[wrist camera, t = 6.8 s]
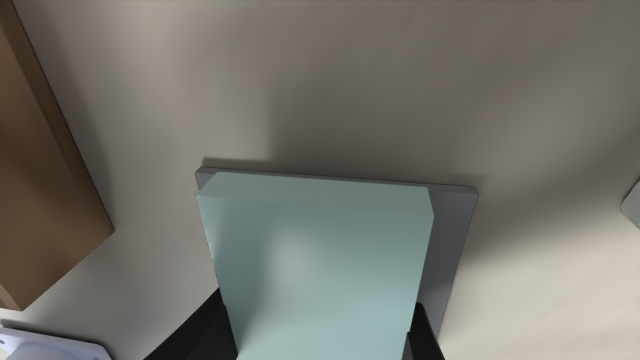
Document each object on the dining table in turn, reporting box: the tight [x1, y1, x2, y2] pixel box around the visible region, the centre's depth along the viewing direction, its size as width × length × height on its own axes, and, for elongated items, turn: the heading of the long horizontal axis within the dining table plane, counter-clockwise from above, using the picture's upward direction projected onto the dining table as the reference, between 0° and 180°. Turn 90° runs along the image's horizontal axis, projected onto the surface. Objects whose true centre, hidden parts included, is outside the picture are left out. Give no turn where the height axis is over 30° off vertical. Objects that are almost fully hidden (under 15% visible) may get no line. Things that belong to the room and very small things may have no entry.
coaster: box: [195, 167, 478, 338], centre depth 12 cm, size 9×9×1 cm
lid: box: [195, 172, 434, 360], centre depth 10 cm, size 11×6×1 cm, turn 1°
